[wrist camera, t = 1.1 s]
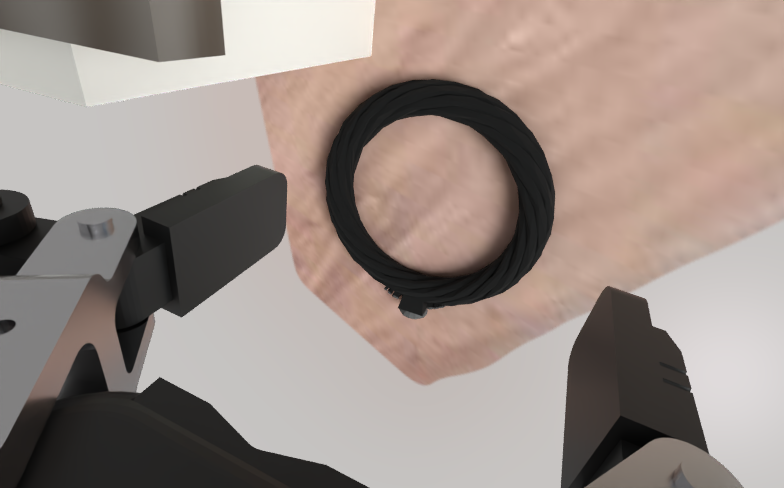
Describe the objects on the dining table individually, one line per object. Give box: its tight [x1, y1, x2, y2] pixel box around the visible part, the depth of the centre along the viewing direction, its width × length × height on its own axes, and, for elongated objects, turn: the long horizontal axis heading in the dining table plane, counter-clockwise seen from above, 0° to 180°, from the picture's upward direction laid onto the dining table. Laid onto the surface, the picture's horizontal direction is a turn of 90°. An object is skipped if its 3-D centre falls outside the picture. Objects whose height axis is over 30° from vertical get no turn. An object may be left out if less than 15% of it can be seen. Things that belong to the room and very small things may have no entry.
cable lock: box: [325, 79, 555, 319], centre depth 50 cm, size 28×4×30 cm
